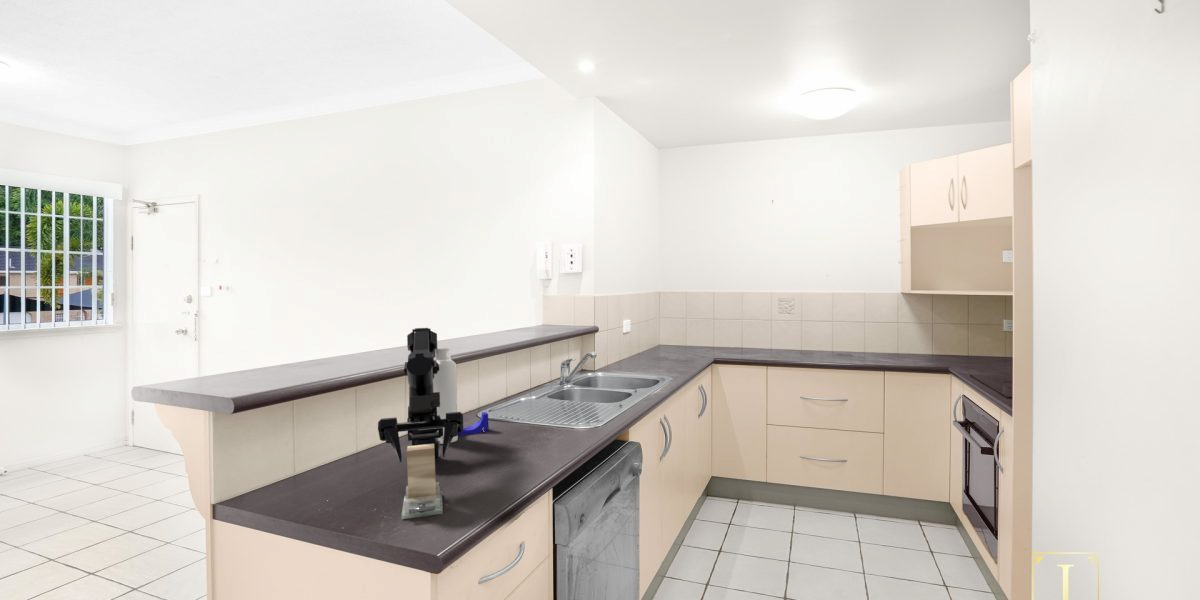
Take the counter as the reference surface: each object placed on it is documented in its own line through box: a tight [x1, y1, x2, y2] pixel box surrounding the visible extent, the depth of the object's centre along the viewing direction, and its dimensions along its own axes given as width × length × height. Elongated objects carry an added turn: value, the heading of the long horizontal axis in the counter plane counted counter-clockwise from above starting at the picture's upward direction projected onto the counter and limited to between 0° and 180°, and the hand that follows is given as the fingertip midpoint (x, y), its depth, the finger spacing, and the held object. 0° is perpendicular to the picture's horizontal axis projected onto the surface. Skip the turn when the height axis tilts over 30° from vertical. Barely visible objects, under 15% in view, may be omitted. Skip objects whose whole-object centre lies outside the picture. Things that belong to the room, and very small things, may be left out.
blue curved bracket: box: [458, 411, 490, 436], centre depth 177 cm, size 12×4×6 cm, turn 112°
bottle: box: [433, 347, 459, 445], centre depth 169 cm, size 8×8×28 cm
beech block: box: [406, 444, 437, 499], centre depth 118 cm, size 4×6×12 cm, turn 107°
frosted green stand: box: [401, 481, 444, 520], centre depth 118 cm, size 13×8×3 cm, turn 17°
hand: (422, 459), depth 124 cm, fingers open, 9 cm apart
